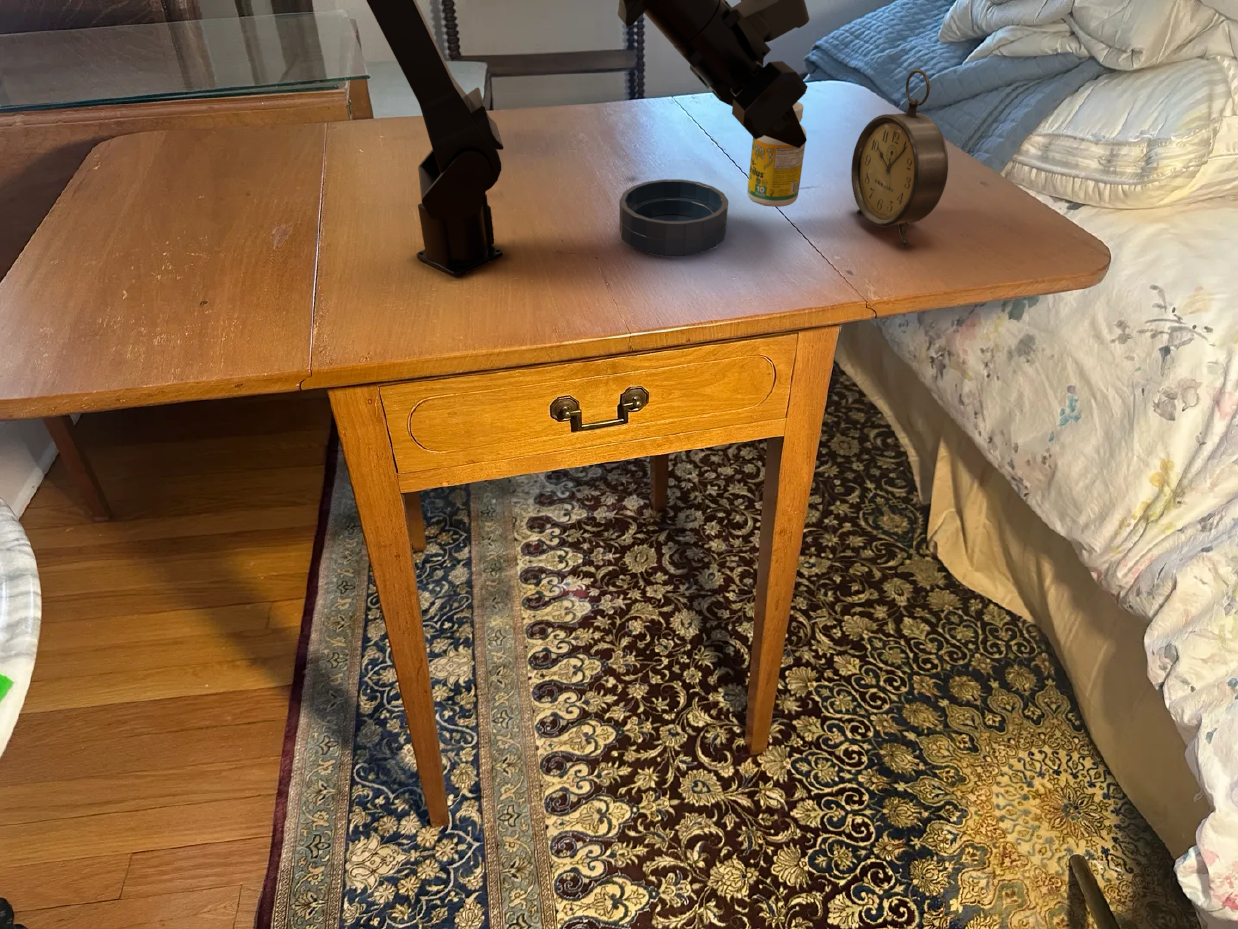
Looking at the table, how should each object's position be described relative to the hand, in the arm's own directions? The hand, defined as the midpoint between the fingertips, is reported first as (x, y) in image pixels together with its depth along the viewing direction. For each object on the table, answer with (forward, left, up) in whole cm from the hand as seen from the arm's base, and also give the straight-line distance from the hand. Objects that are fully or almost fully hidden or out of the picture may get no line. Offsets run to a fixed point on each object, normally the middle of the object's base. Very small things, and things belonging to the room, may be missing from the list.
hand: (792, 134), depth 88 cm
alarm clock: (+7, -9, -10) cm, 15 cm away
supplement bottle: (-1, +1, -7) cm, 7 cm away
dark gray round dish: (-10, +7, -10) cm, 16 cm away
